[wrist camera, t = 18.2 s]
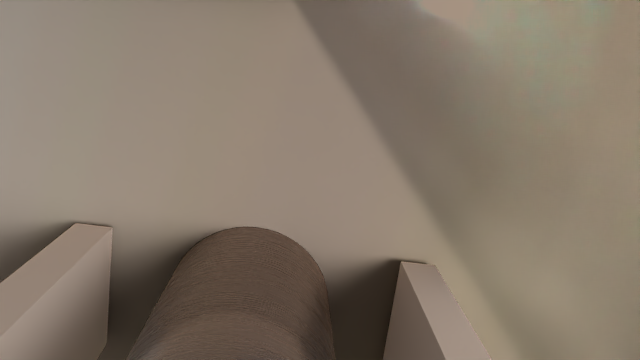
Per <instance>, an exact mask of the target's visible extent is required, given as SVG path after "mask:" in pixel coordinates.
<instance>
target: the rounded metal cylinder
mask: <svg viewBox="0 0 640 360" xmlns="http://www.w3.org/2000/svg"><path fill="white" fill-rule="evenodd" d="M126 360H335V352H334V343H333V335H332V326H331V318H330V309H329V300H328V292H327V287H326V282H325V280H324V277H323V274H322V272H321V270H320V268H319V266H318V264H317V263H316V262H315V260H314V259H313V257H312V256H311V255H310V254H309V253H308V252H307V251H306V250H305V249H304V248H303V247H302V246H300V245H299V244H298V243H297V242H295V241H294V240H292V239H290V238H289V237H287V236H285V235H282V234H280V233H278V232H275V231H271V230H268V229H263V228H256V227H239V228H232V229H227V230H223V231H220V232H217V233H215V234H212V235H210V236H208V237H206V238H205V239H203V240H202V241H200V242H198V243H197V244H196V245H195V246H194V247H192V248H191V249H190V250H189V251H188V252H187V253H186V255H185V256H184V257H183V258H182V260H181V261H180V263H179V264H178V266H177V267H176V269H175V271H174V273H173V275H172V276H171V278H170V280H169V282H168V284H167V285H166V287H165V289H164V291H163V293H162V295H161V296H160V298H159V300H158V302H157V304H156V305H155V307H154V309H153V311H152V313H151V314H150V316H149V318H148V320H147V322H146V324H145V325H144V327H143V329H142V331H141V333H140V334H139V336H138V338H137V340H136V342H135V343H134V345H133V347H132V349H131V351H130V353H129V354H128V356H127V358H126Z"/></svg>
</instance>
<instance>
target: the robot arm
mask: <svg viewBox="0 0 640 360" xmlns="http://www.w3.org/2000/svg"><path fill="white" fill-rule="evenodd" d="M112 231H113V227H105V226H96V225H88V224H79V223H75V224H74V225H73V226H72V227H70V228H69V229H68V230H66V231H65V232H64V233H63V234H61V235H60V236H59V237H58V238H56V239H55V240H54V241H53V242H51V243H50V244H49V245H48V246H46V247H45V248H44V249H43V250H41V251H40V252H39V253H38V254H36V255H35V256H34V257H33V258H31V259H30V260H29V261H27V262H26V263H25V264H24V265H22V266H21V267H20V268H19V269H17V270H16V271H15V272H14V273H12V274H11V275H10V276H9V277H7V278H6V279H5V280H4V281H2V282H1V283H0V360H97V358H98V357H99V355H100V354H101V352H102V350H103V349H104V347H105V346H106V344H107V328H108V309H109V290H110V270H111V251H112ZM383 360H492V358H491V357H490V355H489V354H488V352H487V350H486V349H485V347H484V345H483V344H482V342H481V340H480V339H479V337H478V335H477V334H476V332H475V330H474V329H473V327H472V325H471V324H470V322H469V320H468V319H467V317H466V315H465V314H464V312H463V311H462V309H461V307H460V306H459V304H458V302H457V301H456V299H455V297H454V296H453V294H452V292H451V291H450V289H449V287H448V286H447V284H446V282H445V281H444V279H443V277H442V276H441V274H440V272H439V271H438V269H437V268H436V266H435V265H428V264H420V263H411V262H403V261H401V264H400V269H399V275H398V280H397V286H396V291H395V296H394V302H393V307H392V313H391V318H390V324H389V329H388V334H387V340H386V345H385V351H384V356H383Z"/></svg>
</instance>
